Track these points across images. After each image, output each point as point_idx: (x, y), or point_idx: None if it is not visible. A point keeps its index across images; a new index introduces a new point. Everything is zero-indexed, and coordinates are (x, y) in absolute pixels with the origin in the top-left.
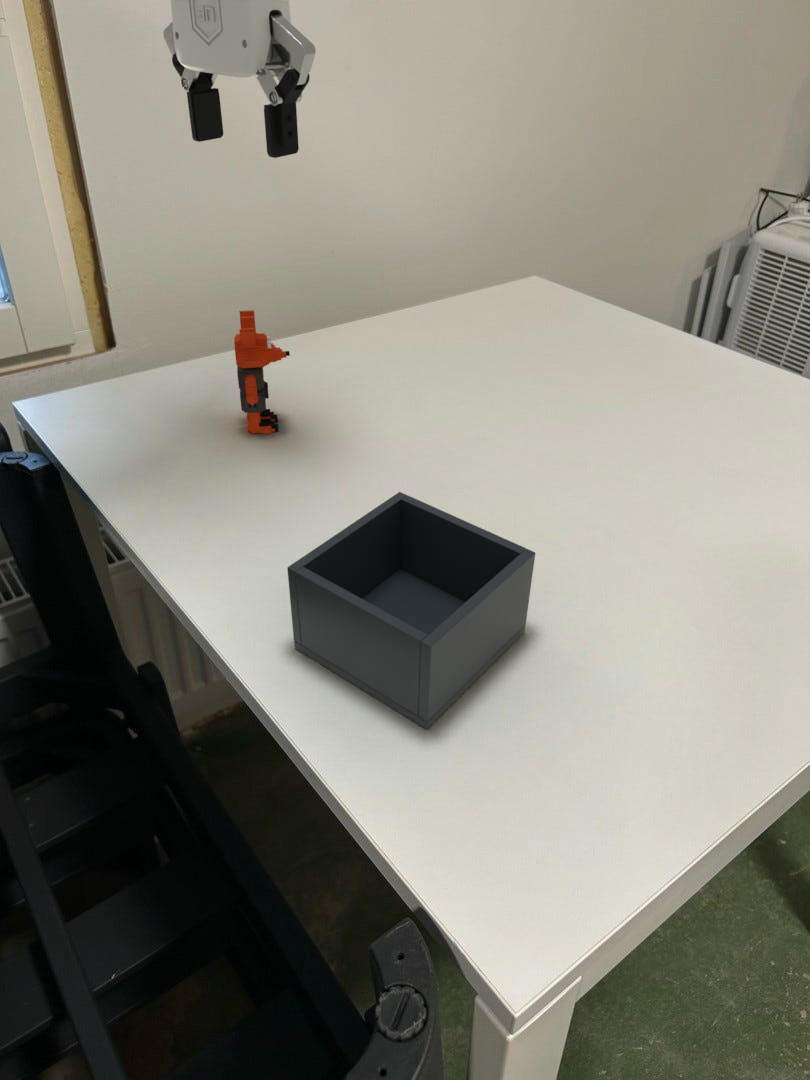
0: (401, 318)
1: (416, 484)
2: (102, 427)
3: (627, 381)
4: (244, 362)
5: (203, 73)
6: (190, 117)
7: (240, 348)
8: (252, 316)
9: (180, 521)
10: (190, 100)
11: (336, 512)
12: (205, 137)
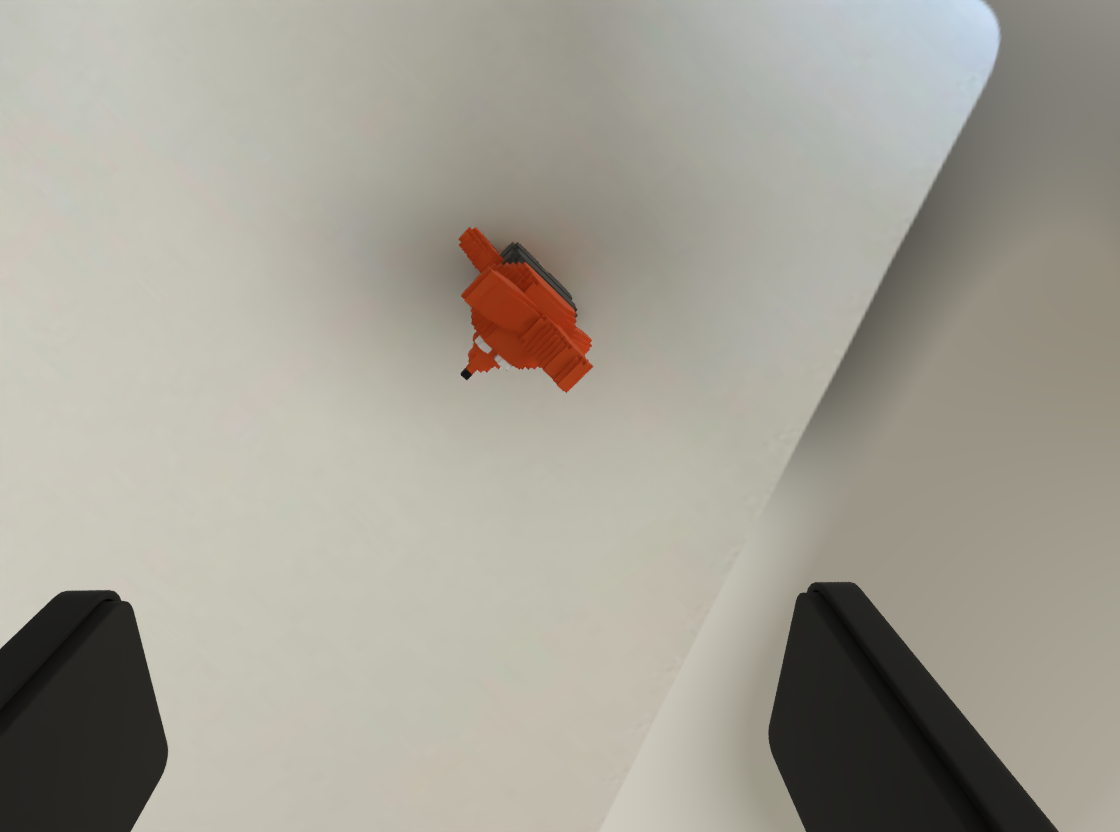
0: (615, 741)
1: (134, 302)
2: (778, 63)
3: None
4: (498, 266)
5: None
6: (925, 676)
7: (519, 281)
8: (552, 372)
9: None
10: (983, 789)
11: (157, 127)
12: (793, 637)
